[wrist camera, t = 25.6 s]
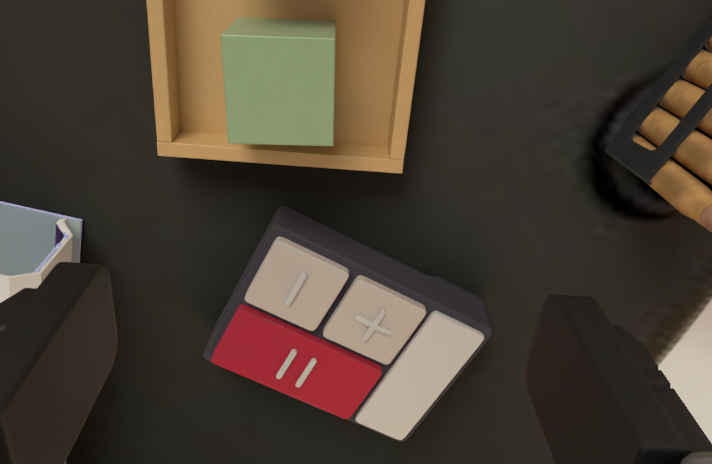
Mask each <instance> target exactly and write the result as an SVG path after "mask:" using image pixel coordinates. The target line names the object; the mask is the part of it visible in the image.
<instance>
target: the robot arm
mask: <svg viewBox="0 0 712 464" xmlns="http://www.w3.org/2000/svg"><path fill="white" fill-rule="evenodd" d="M117 345H118V333H117V325H116V317H115V309H114V301H113V294H112V286H111V278H110V273H109V270H108V268H107V266H106V265H103V264H88V263H73V262H59V263H58V264H56V265H55V267H54V268H53V269H52V270H51V272H50V273H49V274H48V275H47V277H46V278H45V279H44V280H43V282H42V283H41V284H40V285H39V287H38V288H37V289H35V288H24V289H22V290H21V291H19V292H17V293H16V294H14V295H12V296H11V297H9V298H8V299H6V300H4V301H3V302H1V303H0V464H64V463H65V461H66V459H67V457H68V455H69V453H70V451H71V449H72V447H73V445H74V443H75V441H76V439H77V437H78V435H79V433H80V431H81V429H82V427H83V425H84V423H85V421H86V419H87V417H88V415H89V413H90V411H91V409H92V407H93V405H94V403H95V401H96V399H97V397H98V395H99V393H100V391H101V389H102V387H103V385H104V383H105V381H106V379H107V377H108V375H109V373H110V371H111V369H112V367H113V364H114V361H115V357H116V352H117ZM526 382H527V388H528V391H529V394H530V397H531V400H532V402H533V405H534V407H535V410H536V413H537V415H538V418H539V420H540V423H541V426H542V428H543V431H544V433H545V436H546V439H547V441H548V444H549V446H550V449H551V451H552V454H553V457H554V459H555V462H556V464H712V444H711V442H710V441H709V440H708V438H707V436H706V435H705V434H704V432H703V431H702V429H701V428H700V426H699V425H698V423H697V422H696V421H695V419H694V418H693V416H692V415H691V413H690V412H689V411H688V409H687V407H686V406H685V404H684V403H683V402H682V400H681V399H680V397H679V396H678V394H677V393H676V392H675V390H674V389H671V388H670V383H669V381H668V380H667V379H666V377H665V376H664V374H663V373H662V371H661V370H658V365H657V364H656V362H655V361H654V360H653V358H652V357H651V355H650V354H649V352H648V351H647V349H646V348H645V346H644V345H643V344H642V343H641V342H639V341H638V340H637V339H636V338H634V337H633V336H632V335H631V334H629V333H628V332H627V331H626V330H624V329H623V328H622V327H621V326H616V325H611V324H610V322H609V321H608V319H607V318H606V316H605V314H604V313H603V311H602V310H601V308H600V307H599V305H598V304H597V302H596V301H595V300H594V299H593V298H591V297H582V296H566V295H549V296H548V297H547V298H546V300H545V302H544V305H543V308H542V311H541V315H540V318H539V321H538V325H537V328H536V331H535V335H534V338H533V341H532V345H531V348H530V351H529V355H528V359H527V364H526Z"/></svg>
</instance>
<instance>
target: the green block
mask: <svg viewBox="0 0 712 464" xmlns="http://www.w3.org/2000/svg"><path fill="white" fill-rule="evenodd" d="M221 49H222V63H223V77H224V92H225V106H226V120H227V135H228V143H229V144H263V145H300V146H333V145H334V115H335V65H336V21H335V20H313V19H285V18H256V17H238V18H237V19H236V20H235V21H234V22H233V23H232V24H231V25H230V26H229V27H228V28H227V29H226V30H225V31H224V32H223V33H222V34H221Z"/></svg>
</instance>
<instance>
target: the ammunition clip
mask: <svg viewBox="0 0 712 464" xmlns="http://www.w3.org/2000/svg"><path fill="white" fill-rule="evenodd" d="M705 90H706V91H705ZM681 119H682V120H681ZM695 127H697V128H699V129H700V130H702V131H704V132H706V133H707V134H708V135H707V136H705V135H703V134H702V133H700V132H699V131H697V130H695V129H694V128H695ZM605 153H606V154H608V155H609V156H610V157H612V158H613V159H614V160H616V161H617V162H618V163H620V164H621V165H622V166H624V167H625V168H627V169H628V170H629V171H631V172H632V173H633V174H635V175H636V176H637V177H639V178H640V179H641V180H643V181H644V182H645V183H647V184H648V185H649V186H650V187H652V188H653V189H654V190H655V191H656V192H657V193H659V194H660V195H661V196H662V197H663V198H664V199H665V200H667V201H668V202H669V203H670V204H671V205H672V206H673V207H675V208H676V209H677V210H678V211H679V212H680V213H682V214H683V215H685V216H687V217H689V218H691V219H693V220H695V221H696V222H697V223H699V224H700V225H701V226H703V227H705V228H706V229H707V230H709V231H710V232H711V233H712V191H711V190H710V189H709V188H708V187H707V186H706V185H704V184H703V183H702V182H700V181H699V180H698V179H696V178H695V177H694V176H693V174H694V173H695V174H697V175H698V176H699V177H701V178H702V179H704V180H705V181H706V182H708V183H709V184H711V185H712V13H711V15H710V16H709V17H708V18H707V20H706V21H705V22H704V24H703V25H702V26H701V27H700V29H699V30H698V31H697V33H696V34H695V35H694V36H693V38H692V39H691V40H690V41H689V43H688V44H687V45H686V47H685V48H684V49H683V50H682V52H681V53H680V54H679V56H678V57H677V58H676V59H675V61H674V62H673V63H672V64H671V66H670V67H669V68H668V70H667V71H666V72H665V73H664V75H663V76H662V77H661V79H660V80H659V81H658V82H657V84H656V85H655V86H654V88H653V89H652V90H651V91H650V93H649V94H648V95H647V96H646V98H645V99H644V100H643V102H642V103H641V104H640V105H639V107H638V108H637V109H636V111H635V112H634V113H633V114H632V116H631V117H630V118H629V119H628V121H627V122H626V123H625V125H624V126H623V127H622V128H621V130H620V131H619V132H618V134H617V135H616V136H615V137H614V139H613V140H612V141H611V142H610V144H609V145H608V146H607V148H606V149H605ZM671 156H672V157H673V158H675V159H676V160H677V161H679V162H680V163H681V164H679V165H678V164H677V163H675V162H674V161H673V160H672V159H670V157H671Z"/></svg>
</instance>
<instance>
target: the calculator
mask: <svg viewBox="0 0 712 464" xmlns="http://www.w3.org/2000/svg"><path fill="white" fill-rule="evenodd" d="M491 335H492V328H491V325H490V321H489V318H488V315H487V311H486V308H485V305H484V302H483V300H482V299H481V298H480V297H478V296H476V295H474V294H472V293H470V292H468V291H466V290H464V289H462V288H460V287H458V286H456V285H454V284H452V283H450V282H448V281H446V280H444V279H442V278H440V277H435V276H427V275H425V274H423V273H421V272H419V271H417V270H415V269H413V268H411V267H409V266H407V265H405V264H403V263H401V262H399V261H397V260H395V259H393V258H390V257H388V256H386V255H384V254H382V253H380V252H378V251H376V250H374V249H372V248H370V247H368V246H366V245H364V244H362V243H360V242H358V241H356V240H354V239H352V238H350V237H348V236H346V235H344V234H342V233H340V232H338V231H336V230H334V229H332V228H330V227H328V226H326V225H324V224H322V223H320V222H318V221H316V220H314V219H311V218H309V217H307V216H305V215H303V214H301V213H299V212H297V211H295V210H293V209H291V208H289V207H287V206H281V207H279V208H278V209H277V211H276V212H275V214H274V216H273V218H272V220H271V222H270V224H269V225H268V227H267V229H266V231H265V233H264V235H263V237H262V238H261V240H260V242H259V244H258V246H257V248H256V250H255V252H254V253H253V255H252V257H251V259H250V261H249V263H248V265H247V266H246V268H245V270H244V272H243V274H242V276H241V278H240V280H239V281H238V283H237V285H236V287H235V289H234V291H233V293H232V294H231V296H230V298H229V300H228V302H227V304H226V306H225V308H224V309H223V311H222V313H221V315H220V317H219V319H218V321H217V322H216V324H215V326H214V329H213V331H212V333H211V336H210V338H209V341H208V343H207V346H206V349H205V351H204V358H205V359H206V360H208V361H210V362H212V363H214V364H216V365H218V366H220V367H223V368H225V369H227V370H230V371H232V372H234V373H237V374H239V375H241V376H244V377H246V378H249V379H251V380H253V381H256V382H258V383H260V384H263V385H265V386H267V387H270V388H272V389H275V390H277V391H279V392H282V393H284V394H286V395H289V396H291V397H293V398H296V399H298V400H301V401H303V402H305V403H308V404H310V405H312V406H315V407H317V408H319V409H322V410H324V411H327V412H329V413H331V414H334V415H336V416H338V417H341V418H344V419H347V420H349V421H351V422H354V423H356V424H359V425H361V426H363V427H366V428H368V429H370V430H373V431H375V432H377V433H380V434H382V435H385V436H387V437H389V438H392V439H394V440H396V441H399V442H404V441H406V440H407V439H408V438H409V437H410V435H411V434H412V433H413V432H414V430H415V429H416V428H417V427H418V425H419V424H420V423H421V422H422V421H423V419H424V418H425V417H426V416H427V414H428V413H429V412H430V411H431V409H432V408H433V407H434V406H435V405H436V403H437V402H438V401H439V400H440V398H441V397H442V396H443V395H444V393H445V392H446V391H447V390H448V389H449V387H450V386H451V385H452V384H453V382H454V381H455V380H456V379H457V378H458V376H459V375H460V374H461V373H462V371H463V370H464V369H465V368H466V366H467V365H468V364H469V363H470V362H471V360H472V359H473V358H474V357H475V355H476V354H477V353H478V352H479V350H480V349H481V348H482V347H483V346H484V344H485V343H486V342H487V341H488V339H489V338H490V337H491Z"/></svg>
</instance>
